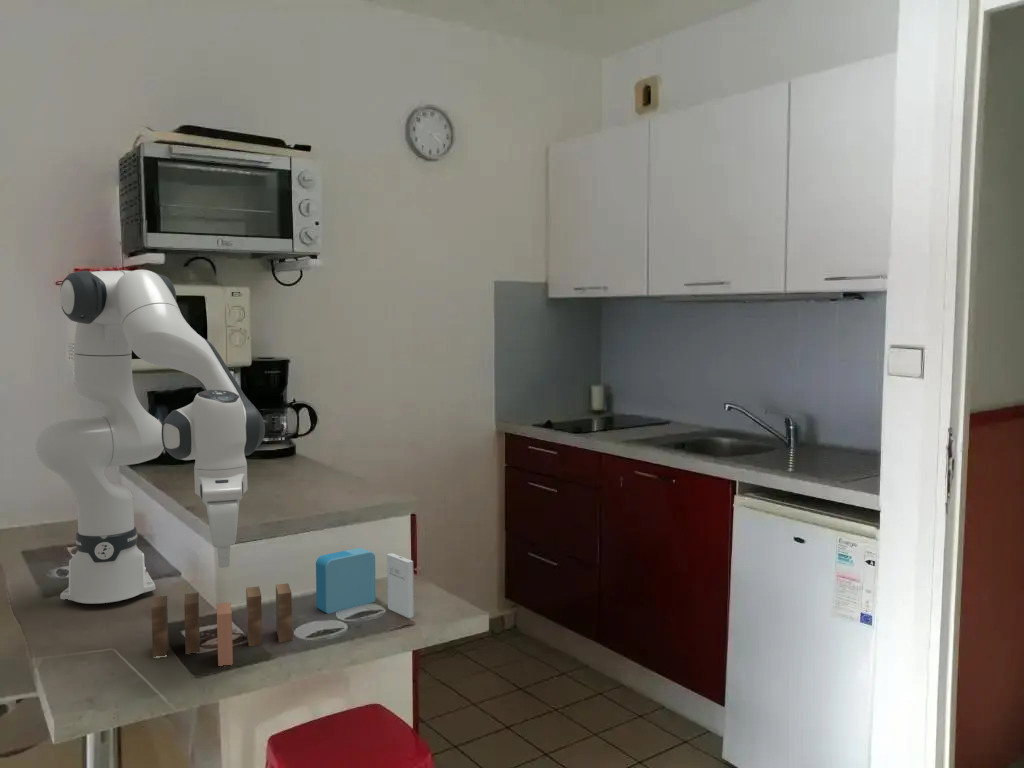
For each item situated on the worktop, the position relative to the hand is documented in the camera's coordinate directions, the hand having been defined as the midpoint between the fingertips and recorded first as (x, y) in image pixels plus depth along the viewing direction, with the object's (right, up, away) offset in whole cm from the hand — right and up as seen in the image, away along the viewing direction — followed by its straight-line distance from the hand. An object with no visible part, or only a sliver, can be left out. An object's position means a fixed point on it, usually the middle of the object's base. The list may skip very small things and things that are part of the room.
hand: (223, 559), depth 148 cm
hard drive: (+28, -17, +26) cm, 42 cm away
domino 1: (-13, -19, +5) cm, 23 cm away
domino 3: (0, -19, +1) cm, 19 cm away
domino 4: (+2, -18, +11) cm, 21 cm away
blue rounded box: (+16, -17, +30) cm, 38 cm away
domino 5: (+7, -18, +13) cm, 23 cm away
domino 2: (-8, -19, +7) cm, 21 cm away
